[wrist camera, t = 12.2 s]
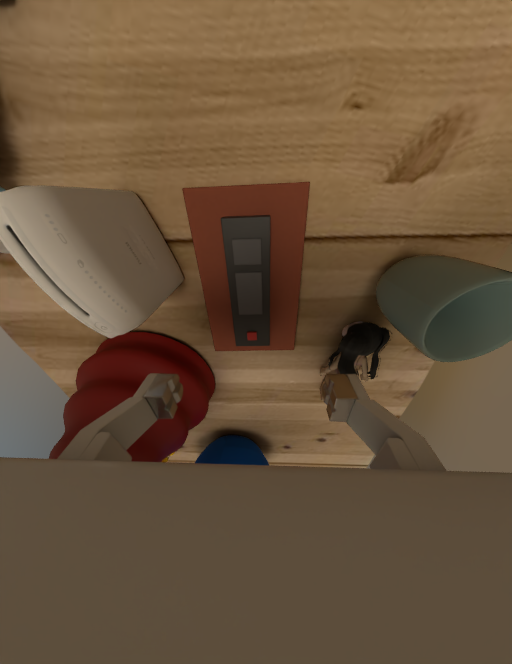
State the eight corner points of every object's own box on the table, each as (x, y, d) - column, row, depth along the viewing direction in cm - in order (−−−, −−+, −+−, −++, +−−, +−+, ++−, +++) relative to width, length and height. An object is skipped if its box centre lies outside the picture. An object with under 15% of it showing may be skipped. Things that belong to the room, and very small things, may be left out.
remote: (224, 216, 19) (219, 218, 17) (269, 214, 19) (270, 216, 17) (237, 337, 28) (235, 347, 26) (269, 336, 28) (269, 347, 26)
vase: (191, 454, 50) (121, 702, 25) (205, 416, 40) (115, 762, 15) (256, 466, 53) (252, 697, 28) (285, 434, 43) (317, 744, 19)
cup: (360, 266, 22) (420, 303, 14) (437, 234, 20) (560, 256, 12) (369, 318, 26) (420, 373, 18) (435, 296, 24) (526, 345, 16)
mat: (308, 182, 18) (310, 181, 18) (293, 348, 29) (294, 350, 29) (183, 188, 19) (182, 188, 18) (215, 349, 30) (215, 351, 29)
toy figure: (354, 387, 34) (389, 316, 25) (364, 421, 29) (413, 347, 20) (313, 382, 35) (333, 312, 26) (316, 414, 30) (343, 341, 21)
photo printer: (190, 282, 24) (137, 342, 14) (161, 292, 25) (90, 356, 14) (137, 183, 18) (-20, 159, 8) (102, 201, 19) (-79, 199, 9)
